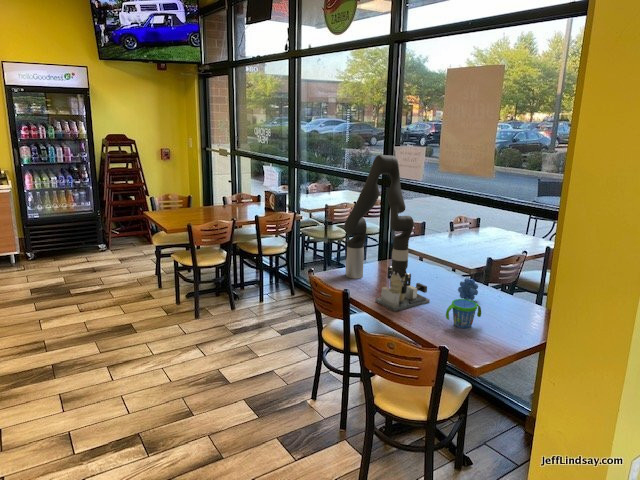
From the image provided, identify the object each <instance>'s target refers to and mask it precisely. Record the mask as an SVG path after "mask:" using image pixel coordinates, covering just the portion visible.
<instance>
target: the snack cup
mask: <svg viewBox="0 0 640 480" xmlns="http://www.w3.org/2000/svg"><path fill="white" fill-rule="evenodd" d="M451 310H452V315H453V316H452V318H453V325H454V326H456V327H458V328H460V329H461V328H462V329H468V328H471V327H472V326H473V322H474V320H475V316H476V315H477V317H478V318H480V317H481V316H482V308H481V306H480V305H479V304H478V303H477V302H475V301H473V300H467V299H464V298H457V299H456V298H455V299H454V300H452V301H451V304H450V305H449V306H448V307H447V309H446V312H445V317H446V320H448V321H449V320H450V311H451ZM476 310H477V313H476ZM475 314H476V315H475Z"/></svg>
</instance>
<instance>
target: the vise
mask: <svg viewBox="0 0 640 480" xmlns="http://www.w3.org/2000/svg"><path fill="white" fill-rule="evenodd" d="M399 296H400V293H398V292H396V291H394V290H392V289H391V288H389V287H387V286H384V287H381V296H380V297H377V298H375V302H376V303H377V302H379V303H380V304H379V303H378V304H379V305H381V304H382V305H381V306H383V305H384V306H383V307H385V306H386V307H385V308H387V307H388V308H387V309H389V310H390V309H391V311H392V310H393V312H394V311H395V312H397V311H398V310H399V311H402V309H403V310H406V308H407V309H410V308H414V307H417V306H421V305H425V304H428V303H430V301H431V300H430V299H429V298H427V297H425V296H423V295H421V294H419V293H417V299H416V300H412V301H411V300H409V299H407V298H404V299H403V300H402V301H400V300H399ZM399 311H398V312H399Z"/></svg>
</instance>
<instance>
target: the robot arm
mask: <svg viewBox="0 0 640 480" xmlns="http://www.w3.org/2000/svg"><path fill="white" fill-rule="evenodd" d="M381 175H389V177H390V182H391V183H390V186H389V188H388V192H387V202H388V206H389V209H390V220H389V221H390V222H389V224H390V228H391V230H392V231H393V232H401V233H400V234H397V235H395V236H393V240H392V242H393V243H392V252H391V266H388V267H387V276H386V277H387V279H388V280H389V281H390V283H389V284H390V285H389V286H390V289H391V279H392V274H397V276H398V277H399V280H400V282H401V284H402V291H401V293H402V294H405V293H406V289H407V286H410V285H411V283H412V282H411V281H412V273H407V270H408V266H409V265H408V264H409V242H410V238H411V235H412V232H413V230H414V229H413V228H414V224H415V223H414V221H415V220H414V219H413V217H412V216H410V215H399V214H402V213H404V212H405V211H406V205H405V200H404V196H403V193H402V187H401V186H402V185H401V175H400V168H399V161H398V158H397V157H396V156H395V155H390V154H388V155H386V154H378V155H376V157H375V158H374V159H373V162H372V165H371V167H370V170H369V173H368V176H367V178H366V181H365V183H364V185H363V187H362V189H361V191H360V193H359V195H358V197H357V200H356V202H355V204H354V206H353V209H352V210H351V211H350V213H349V215H348V216H347V218H346V220H345V222H344V225H343V228H344V229H343V230H344V232H345V234H347V235H348V236H352V237H351V238H350V239H349V240H348V241H347V242H346V258H345V272H344V273H345V275H346V278H349V279H353V280H356V279H362V278H363V277H364V261H365V259H364V257H365V256H364V253H365V244H366V238H367V222H366V220H365V218H364V216H365V215H366V214H367V213H369V212H370V211H371V210H372V209H373V208H374V207H375V205H376V203H377V202H378V199H379V197H380V190H379V186H378V180H379V178H380V176H381ZM403 276H404V277H405V279H404V280H402V279H401V278H402V277H403ZM403 281H404V282H403ZM404 283H405V284H404Z"/></svg>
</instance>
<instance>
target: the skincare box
mask: <svg viewBox="0 0 640 480" xmlns="http://www.w3.org/2000/svg"><path fill="white" fill-rule="evenodd" d="M401 279H402V280H404V279H405V277H404V276H403V277H402V278H401ZM403 282H404V281H403ZM404 284H405V283H404ZM390 289H392V290H394V291H396V292H398V293H400V296H399V300H400V301H402V300H403V299H404V298H405V294H402V293H401V291H402V284H401V282H400V280H399V277H398V276H397V274H392V279H391V288H390Z"/></svg>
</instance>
